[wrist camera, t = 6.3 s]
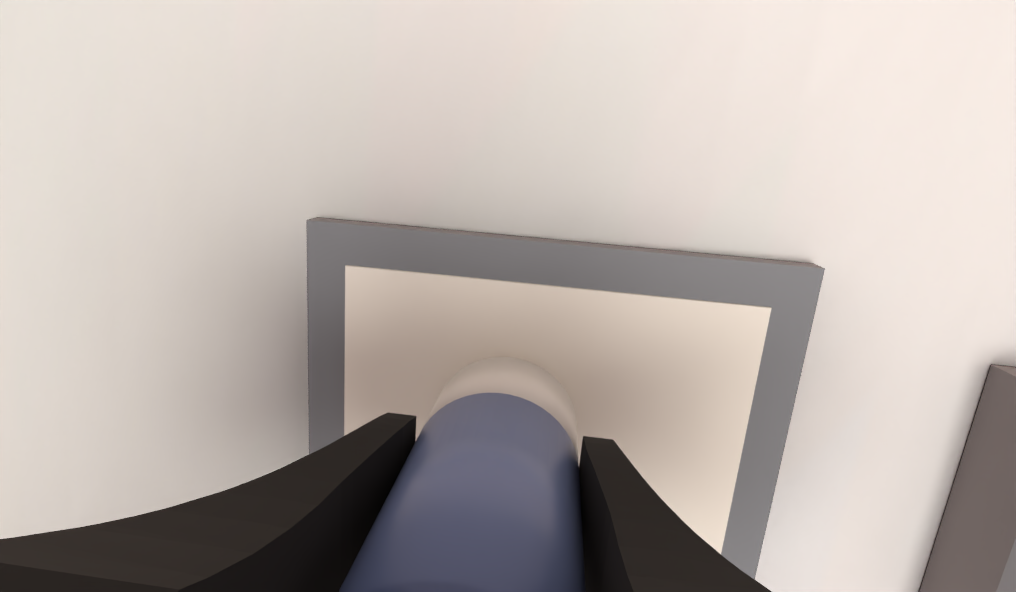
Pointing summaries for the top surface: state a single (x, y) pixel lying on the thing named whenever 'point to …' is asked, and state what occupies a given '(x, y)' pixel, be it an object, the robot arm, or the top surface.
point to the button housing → (982, 501)
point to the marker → (484, 492)
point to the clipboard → (575, 350)
